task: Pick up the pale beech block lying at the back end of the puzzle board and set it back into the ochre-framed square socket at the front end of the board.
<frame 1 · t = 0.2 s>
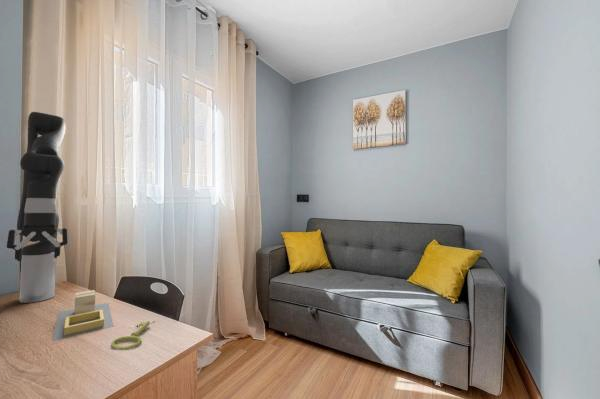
hand: (38, 259, 85), 17 cm above the table, tool pointing down, fingers open, 8 cm apart
key: (133, 340, 70), on the table
beech block: (84, 312, 83), point 1 cm above the table, touching puzzle board
puzzle board: (84, 321, 78), on the table
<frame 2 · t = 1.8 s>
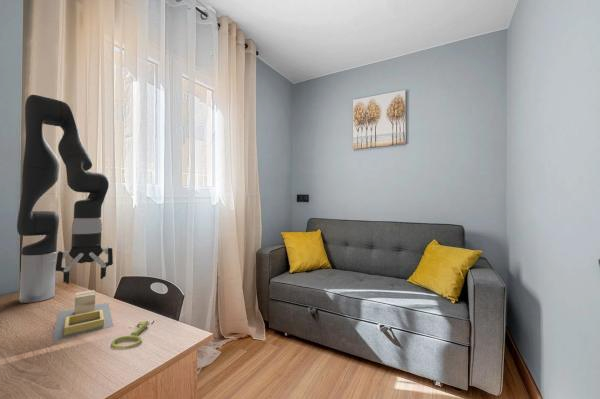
hand: (85, 280, 83), 11 cm above the table, tool pointing down, fingers open, 8 cm apart
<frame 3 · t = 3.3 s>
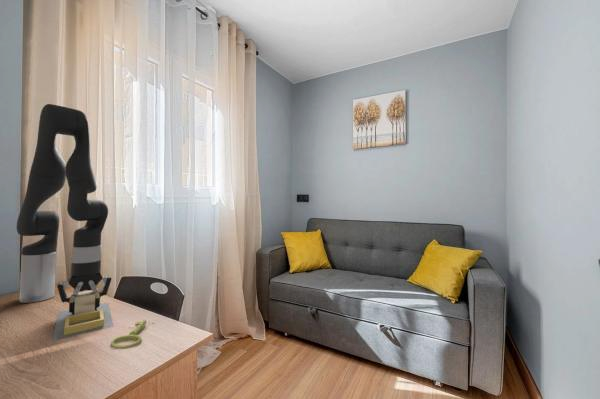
hand: (84, 310, 83), 1 cm above the table, tool pointing down, fingers closed on beech block, 5 cm apart
beech block: (84, 312, 83), point 1 cm above the table, touching gripper, puzzle board
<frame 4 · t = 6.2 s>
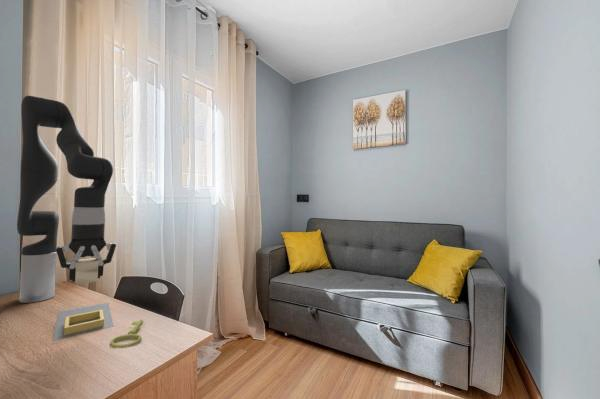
hand: (86, 279, 75), 15 cm above the table, tool pointing down, fingers closed on beech block, 5 cm apart
beech block: (86, 280, 75), point 14 cm above the table, touching gripper
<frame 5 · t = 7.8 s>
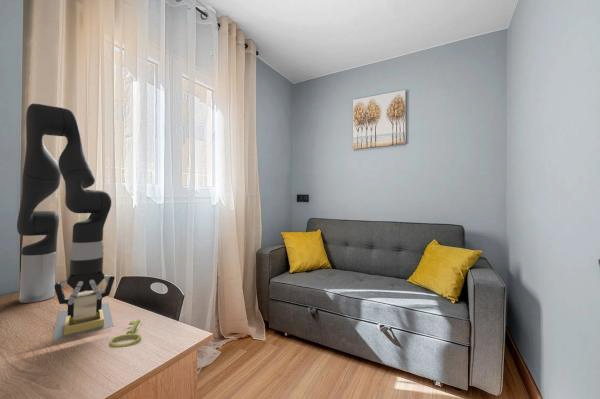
hand: (84, 313, 75), 4 cm above the table, tool pointing down, fingers closed on beech block, 5 cm apart
beech block: (84, 314, 75), point 4 cm above the table, touching gripper
when the fingers open (3 cm above the table, at t = 9.0 s): beech block drops 2 cm, resting on puzzle board.
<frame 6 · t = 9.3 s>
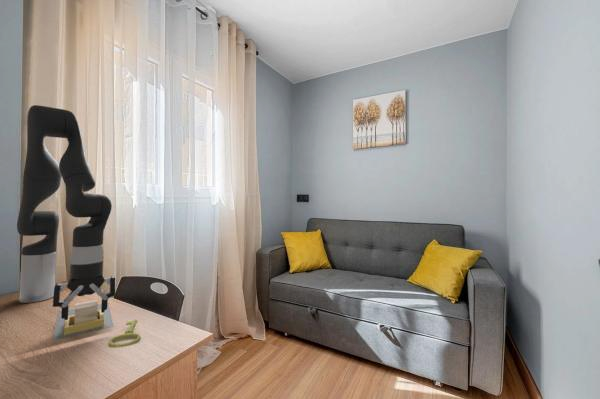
hand: (85, 315, 75), 4 cm above the table, tool pointing down, fingers open, 8 cm apart
beech block: (85, 324, 75), point 1 cm above the table, touching puzzle board
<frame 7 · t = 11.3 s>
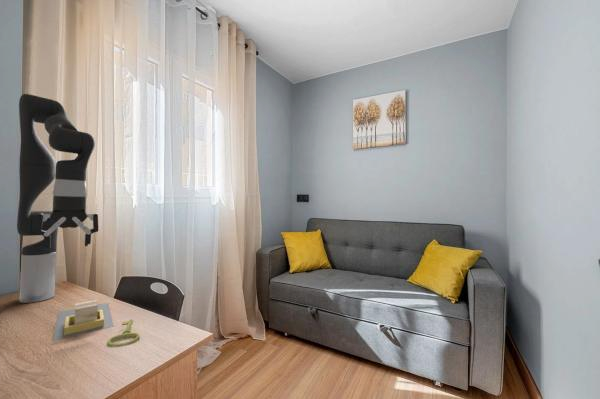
hand: (67, 247, 78), 23 cm above the table, tool pointing down, fingers open, 8 cm apart
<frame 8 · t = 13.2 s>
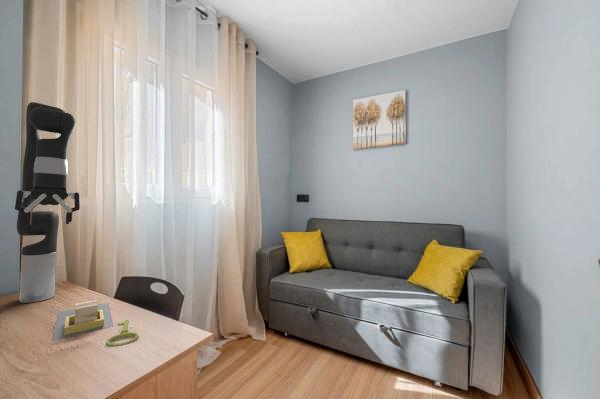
hand: (48, 224, 79), 30 cm above the table, tool pointing down, fingers open, 8 cm apart
at the end: beech block 0.2 cm from the target spot on the puzzle board, point 1.0 cm above the puzzle board's base; beech block tilted 0°; the gripper is holding nothing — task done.
